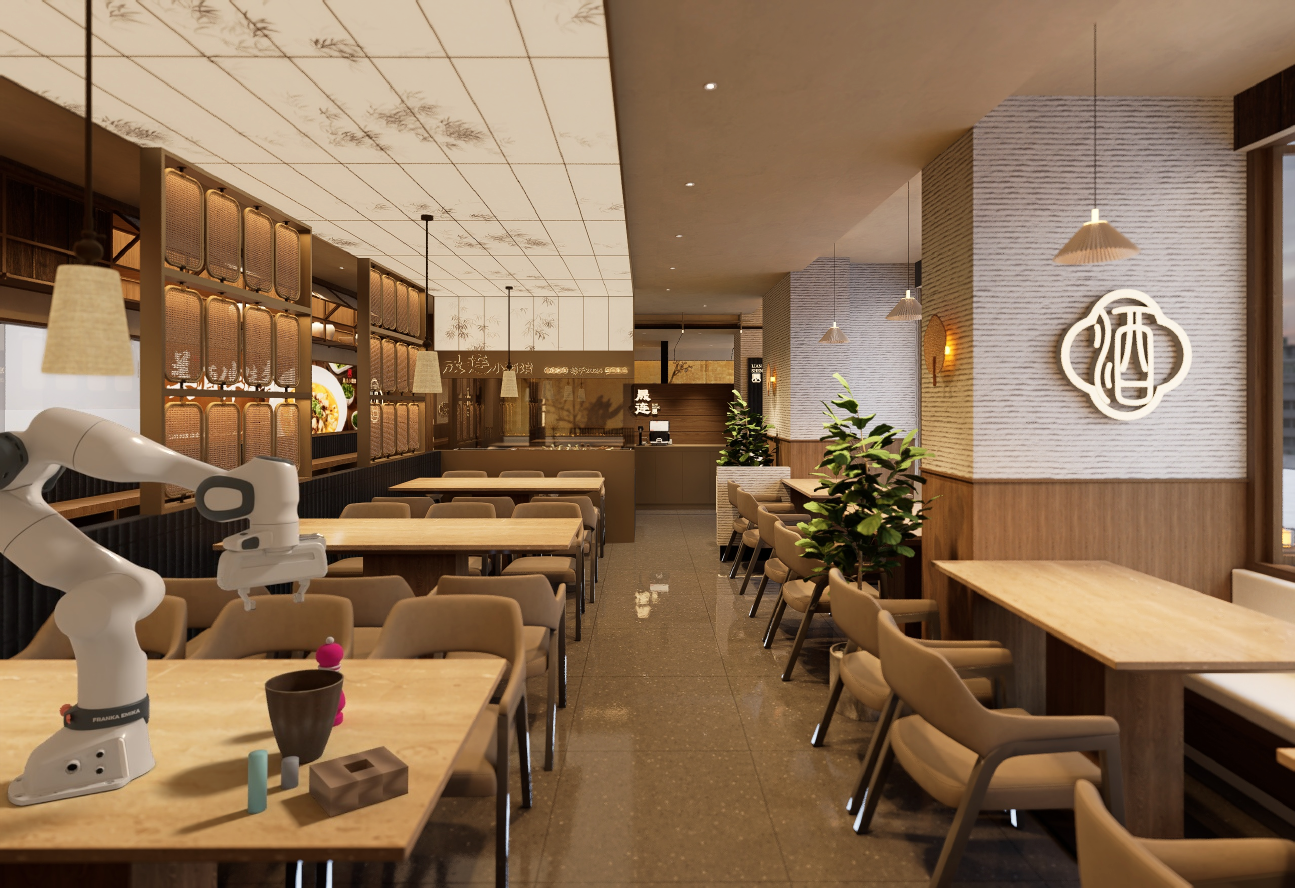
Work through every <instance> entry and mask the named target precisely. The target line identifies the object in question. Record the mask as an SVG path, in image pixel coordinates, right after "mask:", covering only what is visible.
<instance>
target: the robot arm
mask: <svg viewBox="0 0 1295 888" xmlns="http://www.w3.org/2000/svg"><path fill="white" fill-rule="evenodd" d="M67 468H68V469H70V470H72V471H75V472H77V473H81V474H84V475H86V476H89V477H92V478H95V479H99V480H104V481H110V482H116V483H143V482H145V483H147V482H148V483H149V482H150V483H151V482H153V483H162V484H163V483H165V484H170V485H174V486H178V487H180V488H183V489H186V490H190V491H193V492H195V494H194V502H195V508H196V509H197V511H198V513H199V514H201V516H203V517H204V518H206V519H207V520H209V521H212V522H218V523H226V522H233V521H238V520H242V519H243V520H244V519H248V520H249V528H248V529H245V530H243V531H241V532H238V533H235V534H233V535H230V536H227V537H225V538H224V539H223V540H222V547H223V549H225V550H224V551H223V552H222V553H221V555H220V557H219V560H218V565H217V574H216V583H217V586H218V587H219V588H220V589H221V590H224V591H235V590H237V594H238V596H239V597H240V598H241V600H242V601H243V605H244V606H243V609H244V611H246V612H250V611H255V610H256V609H257V606H256V605H257V601H256V600H253V599H250V597H249V595H248V594H250V592H251V588H257V587H263V586H271V585H277V584H285V583H291V582H298V584H299V585H300V586H299V588H298V590H297V592H295V593H292V595H293V599H292V601H293V603H294V604H295V603H296V604H299V603H303V602H305V594H306V592H307V590H308V589H309V587H310V585H311V579H312V580H314V579H321V578H324V577H325V576H326V575H327V574H328V559H327V554H326V550H327V540H326V538H325V536H324V535H321V534H320V533H318V532H313V533H303V534H300V518H299V515H298V505H299V502H300V486H299V476H298V475H299V474H298V469H297V467H296V465H295V463H294V462H293V461H292V460H290V459H288V458H283V457H281V456H280V457H278V456H274V455H272V456H271V455H258V456H257V455H256V456H254V457H252V458H251V460H249V461H247V462H246V463H244V464H242V465H240V466H238V467H235V468H233V469H231V470H230V469H226V468H222V467H220V466H217V465H215V464H214V465H213V464H211V463H207V462H205V461H202V460H199V459H196V458H193V457H192V456H188V455H185V454H182V453H180V452H177V451H175V450H173V449H171V448H168V447H166V446H165V445H162V444H161V443H158V442H156V441H154V440H152V439H150V438H148V437H145V436H144V435H142V434H140V433H138V432H136V431H135V430H132V429H130V428H128V427H125V426H122V425H121V424H119V423H116V422H114V421H111V420H109V419H106V418H103V417H101V416H97V415H95V414H91V413H87V412H84V411H80V410H77V409H71V408H65V407H59V406H58V407H56V406H55V407H50V408H47V409H44V410H41V411H40V412H39V413H37V414H36V415H35V416H34V417H33V418H32V420H31V422H30V423H29V425H28V426H27V427H26V429H25V430H23V431H22V430H19V431H18V430H12V431H11V430H10V431H8V430H7V431H1V432H0V553H1V554H2V555H3V556H4V557H5V558H7V559H8V560H9V561H10V562H12V563H13V564H14V565H15V566H16V567H18V568H19V569H20V570H22V571H23V572H24V573H25V574H26V575H27V576H29V577H30V578H31V579H32V580H34V581H35V582H37V583H38V584H41V585H43V586H47V587H50V588H54V589H57V590H60V591H62V592H64V593H65V594H64V595H63V596H62V597H60V599H59V600H58V601H57V603H56V605H55V607H54V608H55V609H54V612H53V613H54V614H53V617H54V623H55V624H56V627H57V628H58V629H59V631H60V632H61V633H62V634H63V635H65V636H67V638H68V639H69V642H70V644H71V648H72V650H73V652H74V653H73V654H74V658H75V661H76V668H77V672H76V673H77V700H76V701H77V703H75V704H74V705H71V704H70V703H65V704H63V705H61V707H60V708H59V714H60V716H61V717H63V719H62V721H63V727H61V728H60V729H59V730H57V731H56V732H55V733H54V734H53V735H51V736H50V737H47V739H46V740H44V741H43V742H41V743H40V744H39V745H38V746H36V747H35V748H34V749H33V750H32V752H31V753H30V754H29V756H28V758H27V761H26V763H25V766H24V770H23V773H22V774H21V775H18V776H17V777H15V778H14V779H13V780H11V782H10V783H9V785H8V788H7V799H8V801H9V802H10V803H12V804H13V805H17V806H27V805H33V804H39V803H44V802H50V801H55V800H56V801H57V800H62V799H68V798H73V797H78V796H84V795H89V794H94V793H95V794H96V793H101V792H106V791H111V790H116V789H120V788H122V787H124V786H126V785H127V784H128V783H129V782H131V781H133V780H134V779H136V778H138V777H140V776H143V775H144V774H146V773H147V772H149V771H151V770H152V769H153V768H154V767H155V765H156V759H155V757H154V754H153V751H152V747H151V742H150V737H149V736H150V735H149V728H148V724H149V721H150V716H151V715H150V714H151V713H150V712H151V699H150V695H149V693H148V691H147V689H148V655H147V654H146V652H145V651H144V650H142V648H141V646H140V644H139V641H138V637H137V633H136V623H137V622H139V621H141V620H143V619H145V618H147V617H148V616H150V615H151V614H152V613H153V612H154V611H155V610H156V609H157V608H158V606H160V604H161V603H162V602H163V600H164V599H165V595H166V585H165V581H164V579H163V578H162V576H161V575H160V574H158V573H157V572H156V571H154V570H152V569H148V568H145V567H141V566H140V565H137V564H135V563H133V562H131V561H129V560H128V559H126V558H124V557H123V556H120V555H119V554H116V553H115V552H113V551H111V550H109V549H107V548H106V547H104V546H102V545H100V544H99V543H97V541H95V540H93V539H92V538H90V537H88V536H87V535H86V534H85V533H84V532H83V531H81V530H80V529H79V528H78V527H76V526H75V525H74V524H73V523H72V522H70V521H69V520H68V519H67V518H65V517H64V516H63V515H62V514H61V513H59V512H58V511H56V509H54V508H53V507H52V506H51V505H50V504H48V503H47V502H46V500H44V498H43V496H42V494H44V493H47V492H50V491H51V490H52V489H53V488H54V487H55V485H56V483H57V481H58V479H59V478H60V477H61V476H62V475H63V474H64V472H65V471H66V469H67Z"/></svg>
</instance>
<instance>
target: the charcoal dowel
mask: <svg viewBox="0 0 1295 888" xmlns="http://www.w3.org/2000/svg"><path fill="white" fill-rule="evenodd" d="M280 763H281V765H280V789H281V790H284V791H285V790H286V791H287V790H293V789H295V788H297V787H298V786H299V775H300V773H299V771H300V770H299V769H300V766H299V765H300V764H299V757H296V756H290V757H286V758H284V759H283V758H282V759H281V762H280Z"/></svg>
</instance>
